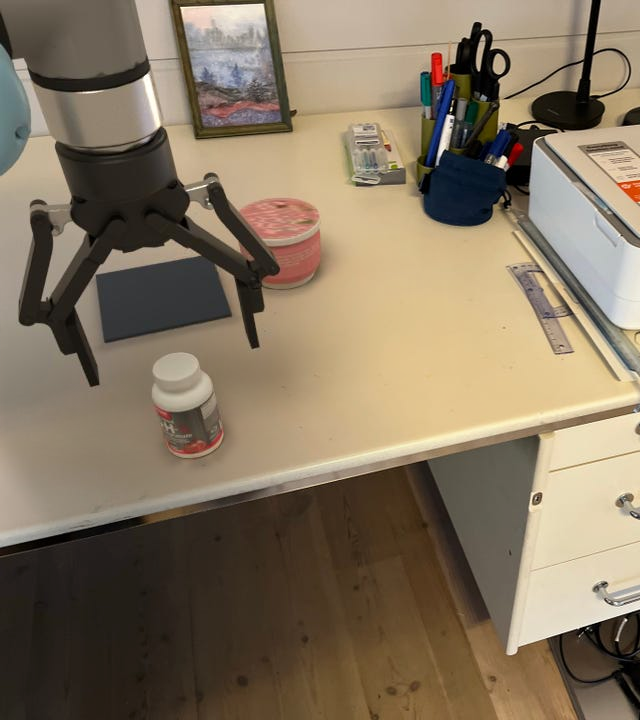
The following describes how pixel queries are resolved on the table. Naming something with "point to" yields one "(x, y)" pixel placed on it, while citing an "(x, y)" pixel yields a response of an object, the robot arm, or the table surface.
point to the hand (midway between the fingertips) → (176, 357)
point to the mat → (160, 297)
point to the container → (287, 238)
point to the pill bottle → (186, 406)
